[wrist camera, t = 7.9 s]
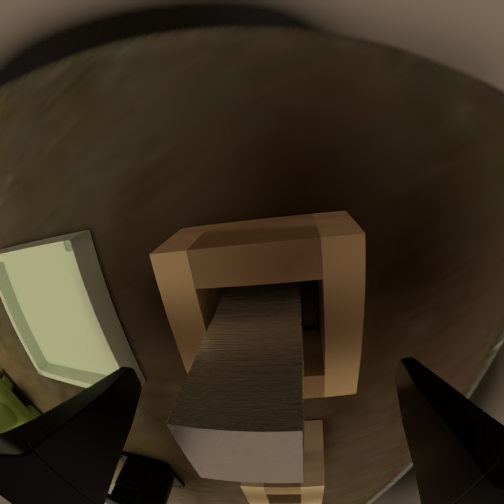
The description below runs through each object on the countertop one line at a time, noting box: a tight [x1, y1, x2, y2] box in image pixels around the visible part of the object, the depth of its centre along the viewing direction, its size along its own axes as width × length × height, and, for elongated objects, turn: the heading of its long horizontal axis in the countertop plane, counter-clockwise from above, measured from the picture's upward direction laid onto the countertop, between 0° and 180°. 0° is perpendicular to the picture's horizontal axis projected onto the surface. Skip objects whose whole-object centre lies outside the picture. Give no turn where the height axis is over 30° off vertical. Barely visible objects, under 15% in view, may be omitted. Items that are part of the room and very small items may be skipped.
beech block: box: [240, 420, 325, 504], centre depth 16 cm, size 5×5×6 cm
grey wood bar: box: [166, 281, 305, 483], centre depth 10 cm, size 3×3×9 cm
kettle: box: [0, 375, 40, 433], centre depth 20 cm, size 15×14×11 cm
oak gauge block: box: [149, 211, 366, 399], centre depth 12 cm, size 8×8×4 cm
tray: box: [0, 230, 146, 388], centre depth 16 cm, size 11×11×2 cm
